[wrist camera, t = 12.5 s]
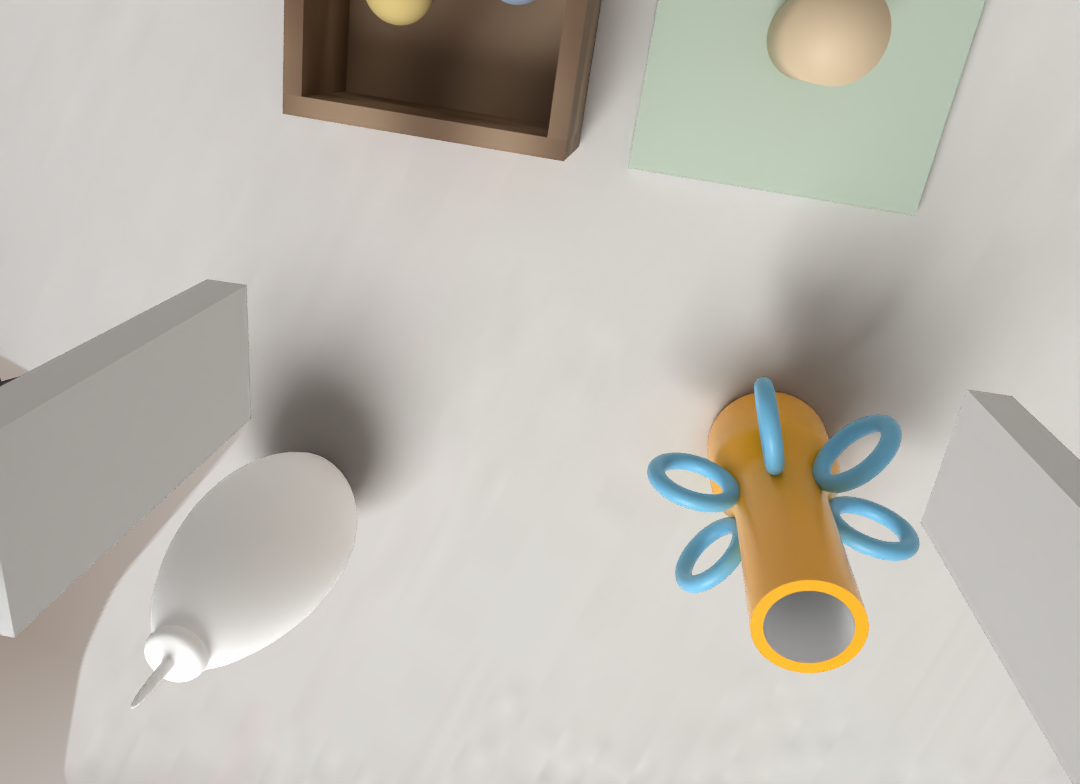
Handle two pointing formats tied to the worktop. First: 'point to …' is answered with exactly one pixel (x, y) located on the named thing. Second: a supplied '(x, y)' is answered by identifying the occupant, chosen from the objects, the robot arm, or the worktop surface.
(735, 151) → the lid
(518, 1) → the ball
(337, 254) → the worktop surface
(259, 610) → the sauce bottle
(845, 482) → the cylinder
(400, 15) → the ball
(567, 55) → the box
